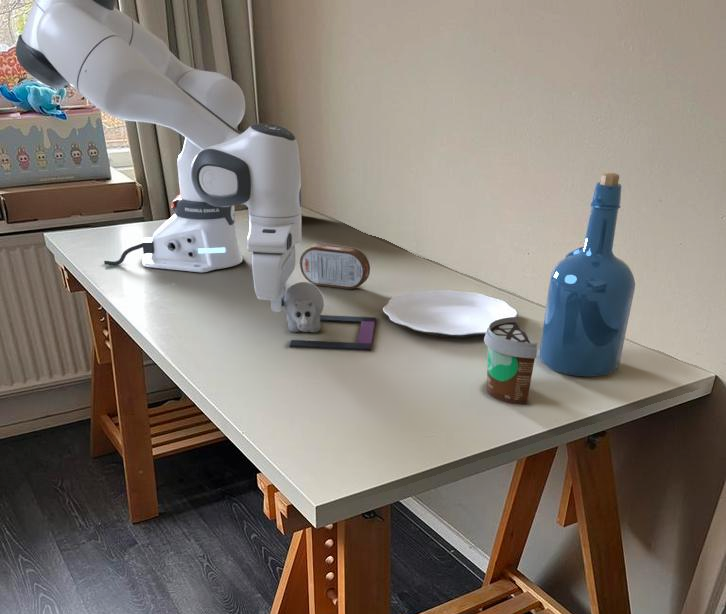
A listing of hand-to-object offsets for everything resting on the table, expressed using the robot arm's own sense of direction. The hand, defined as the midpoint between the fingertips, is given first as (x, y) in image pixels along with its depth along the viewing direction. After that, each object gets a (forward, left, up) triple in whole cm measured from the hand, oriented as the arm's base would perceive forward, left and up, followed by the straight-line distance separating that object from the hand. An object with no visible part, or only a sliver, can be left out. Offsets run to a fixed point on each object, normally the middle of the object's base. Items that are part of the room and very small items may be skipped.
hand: (277, 308), depth 139 cm
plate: (+31, +10, -4) cm, 33 cm away
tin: (+7, +28, -4) cm, 29 cm away
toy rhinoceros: (+5, -1, -4) cm, 6 cm away
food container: (+38, -22, -4) cm, 44 cm away
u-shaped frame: (+10, 0, -4) cm, 11 cm away
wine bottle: (+52, -9, -4) cm, 53 cm away
